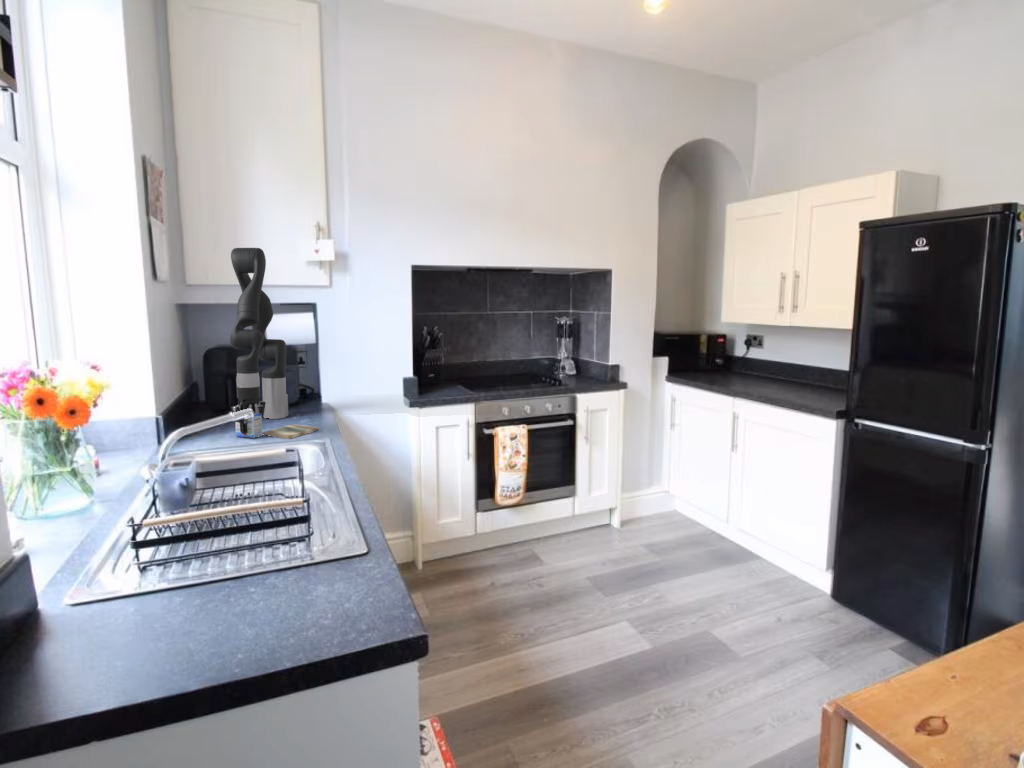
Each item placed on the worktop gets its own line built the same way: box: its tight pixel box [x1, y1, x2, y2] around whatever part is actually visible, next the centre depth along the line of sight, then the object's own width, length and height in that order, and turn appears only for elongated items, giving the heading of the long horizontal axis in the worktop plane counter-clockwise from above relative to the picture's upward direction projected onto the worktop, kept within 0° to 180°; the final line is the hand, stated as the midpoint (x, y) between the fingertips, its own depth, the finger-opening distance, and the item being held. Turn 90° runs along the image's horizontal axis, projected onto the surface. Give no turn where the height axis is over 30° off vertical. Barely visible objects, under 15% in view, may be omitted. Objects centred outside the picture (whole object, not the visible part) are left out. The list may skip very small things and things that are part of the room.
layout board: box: [262, 423, 319, 440], centre depth 209 cm, size 16×12×1 cm
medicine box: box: [234, 412, 263, 439], centre depth 201 cm, size 8×4×9 cm, turn 76°
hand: (249, 431), depth 201 cm, fingers closed on medicine box, 4 cm apart
